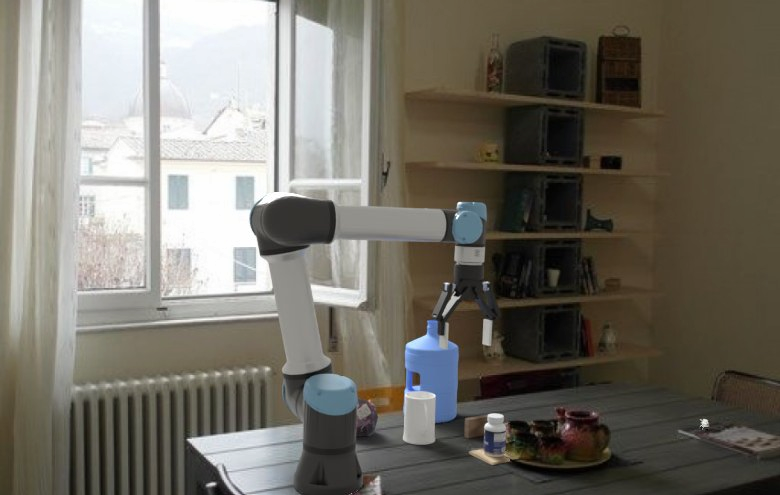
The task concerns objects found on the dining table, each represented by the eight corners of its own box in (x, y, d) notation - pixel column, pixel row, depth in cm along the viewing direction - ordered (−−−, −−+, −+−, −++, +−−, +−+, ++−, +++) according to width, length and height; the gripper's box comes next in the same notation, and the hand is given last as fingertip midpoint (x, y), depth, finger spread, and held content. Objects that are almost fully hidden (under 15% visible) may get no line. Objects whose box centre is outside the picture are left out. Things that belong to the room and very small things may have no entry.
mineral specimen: (334, 432, 199) (338, 394, 202) (344, 437, 208) (348, 400, 212) (370, 435, 197) (374, 396, 200) (379, 439, 206) (382, 402, 209)
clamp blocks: (487, 447, 196) (488, 428, 196) (464, 436, 205) (464, 418, 204) (514, 442, 201) (515, 423, 201) (490, 431, 210) (491, 413, 209)
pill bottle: (479, 451, 191) (481, 413, 191) (499, 449, 193) (500, 411, 192) (488, 458, 186) (490, 419, 185) (508, 456, 188) (510, 418, 187)
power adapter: (710, 431, 217) (711, 420, 217) (703, 432, 216) (704, 421, 216) (702, 428, 220) (703, 417, 220) (695, 429, 219) (696, 418, 219)
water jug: (457, 410, 230) (461, 318, 228) (455, 425, 214) (458, 327, 212) (406, 406, 232) (409, 315, 230) (399, 421, 216) (402, 324, 214)
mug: (440, 449, 194) (442, 402, 193) (407, 449, 193) (408, 402, 192) (431, 434, 206) (433, 390, 205) (400, 434, 205) (401, 390, 204)
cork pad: (492, 465, 183) (492, 462, 183) (468, 453, 191) (468, 451, 191) (520, 459, 188) (520, 456, 188) (496, 448, 196) (496, 446, 196)
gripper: (436, 265, 183) (432, 352, 184) (517, 264, 195) (513, 346, 197) (419, 262, 189) (416, 346, 191) (498, 261, 202) (494, 340, 203)
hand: (465, 346), depth 194 cm, fingers open, 13 cm apart
